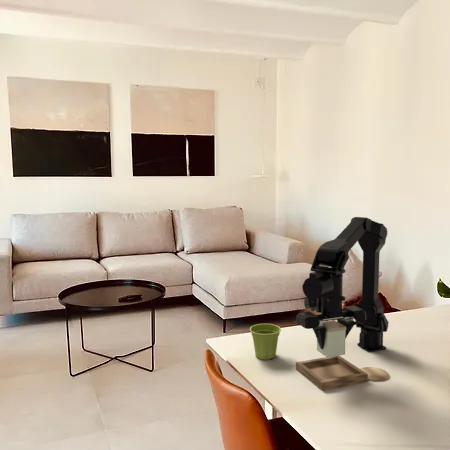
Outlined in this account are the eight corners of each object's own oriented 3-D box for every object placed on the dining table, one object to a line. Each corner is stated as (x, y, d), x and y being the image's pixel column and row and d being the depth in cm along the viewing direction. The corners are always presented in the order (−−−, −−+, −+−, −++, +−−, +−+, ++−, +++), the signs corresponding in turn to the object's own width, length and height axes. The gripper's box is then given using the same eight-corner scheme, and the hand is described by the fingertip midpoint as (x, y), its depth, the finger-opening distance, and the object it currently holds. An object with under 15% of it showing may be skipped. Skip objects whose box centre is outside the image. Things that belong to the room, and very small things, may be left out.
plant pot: (279, 363, 141) (279, 334, 140) (247, 361, 143) (247, 333, 142) (282, 351, 150) (282, 324, 149) (252, 349, 152) (252, 322, 151)
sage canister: (334, 347, 135) (334, 320, 134) (346, 354, 130) (346, 326, 129) (316, 350, 133) (316, 322, 132) (327, 357, 128) (327, 329, 127)
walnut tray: (338, 361, 141) (338, 355, 141) (367, 381, 128) (367, 374, 128) (295, 369, 137) (295, 362, 136) (321, 390, 123) (321, 382, 123)
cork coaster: (370, 366, 138) (370, 364, 138) (394, 376, 131) (394, 374, 131) (352, 373, 133) (352, 371, 133) (375, 383, 127) (375, 382, 127)
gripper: (344, 281, 140) (343, 333, 142) (286, 288, 134) (286, 341, 136) (367, 290, 130) (366, 346, 132) (306, 298, 124) (306, 356, 125)
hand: (331, 347), depth 131 cm, fingers closed on sage canister, 5 cm apart
